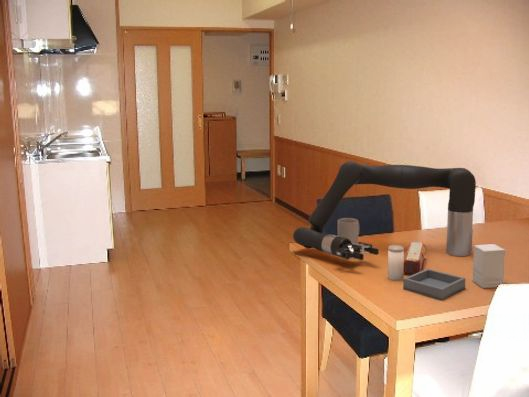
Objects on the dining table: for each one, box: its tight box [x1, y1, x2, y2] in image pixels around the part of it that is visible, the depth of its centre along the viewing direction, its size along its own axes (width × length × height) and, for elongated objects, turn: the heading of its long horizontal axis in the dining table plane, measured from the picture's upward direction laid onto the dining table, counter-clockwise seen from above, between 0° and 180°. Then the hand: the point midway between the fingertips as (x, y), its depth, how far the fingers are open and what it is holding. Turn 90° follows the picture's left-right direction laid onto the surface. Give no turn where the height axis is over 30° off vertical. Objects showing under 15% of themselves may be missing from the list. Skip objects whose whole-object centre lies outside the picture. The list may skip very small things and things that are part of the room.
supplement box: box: [472, 243, 506, 289], centre depth 180 cm, size 7×7×13 cm
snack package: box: [403, 241, 427, 276], centre depth 200 cm, size 21×7×7 cm, turn 159°
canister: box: [387, 244, 405, 281], centre depth 188 cm, size 5×5×11 cm
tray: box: [402, 268, 466, 301], centre depth 178 cm, size 14×14×4 cm
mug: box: [337, 217, 360, 244], centre depth 228 cm, size 12×8×11 cm
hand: (370, 254), depth 196 cm, fingers open, 8 cm apart
